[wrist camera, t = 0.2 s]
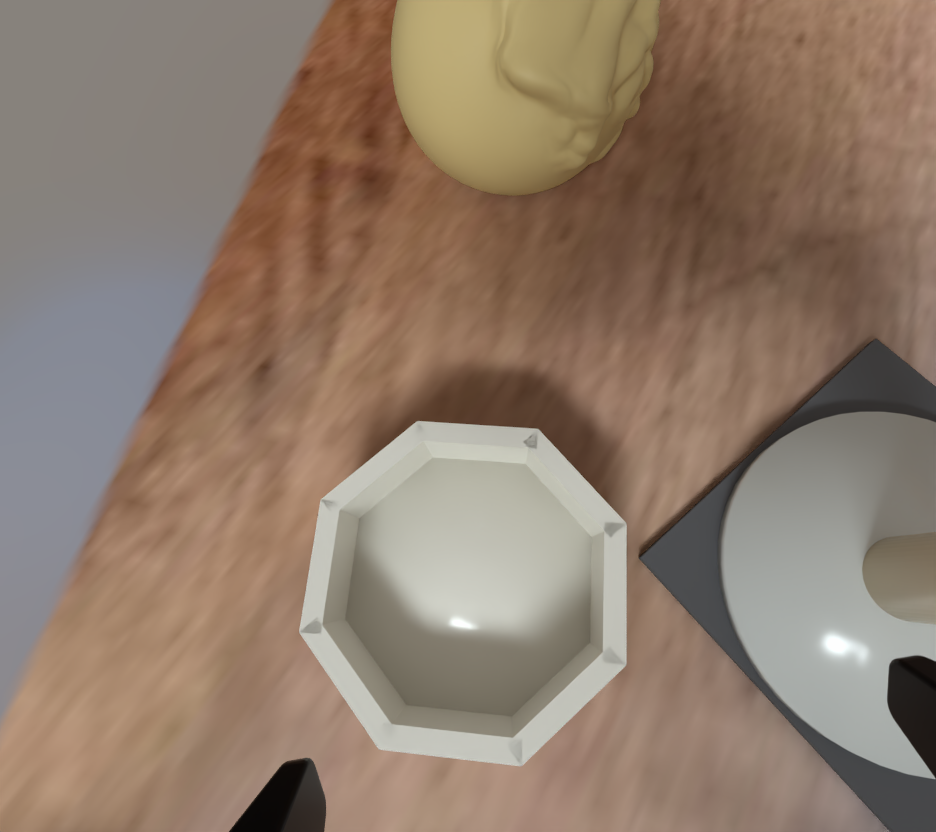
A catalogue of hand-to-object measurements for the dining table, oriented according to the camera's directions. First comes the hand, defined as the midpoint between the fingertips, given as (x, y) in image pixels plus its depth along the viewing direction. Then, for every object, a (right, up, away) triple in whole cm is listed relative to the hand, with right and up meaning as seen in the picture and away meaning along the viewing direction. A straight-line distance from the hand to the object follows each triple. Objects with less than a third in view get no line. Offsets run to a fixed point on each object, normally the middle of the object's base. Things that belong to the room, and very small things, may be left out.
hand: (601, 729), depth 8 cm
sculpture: (+1, +20, +22) cm, 30 cm away
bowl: (-2, -2, +15) cm, 15 cm away
